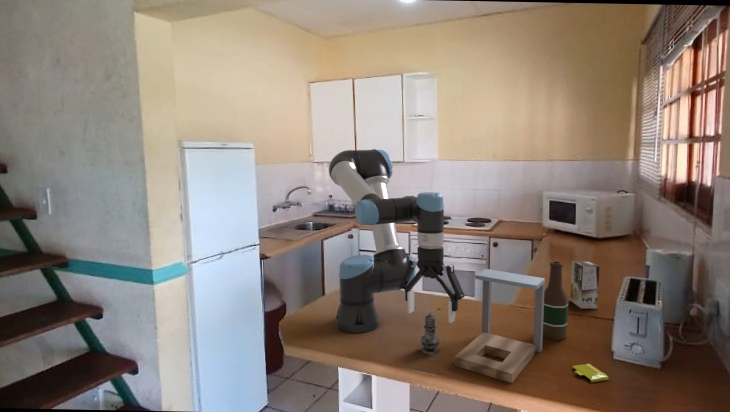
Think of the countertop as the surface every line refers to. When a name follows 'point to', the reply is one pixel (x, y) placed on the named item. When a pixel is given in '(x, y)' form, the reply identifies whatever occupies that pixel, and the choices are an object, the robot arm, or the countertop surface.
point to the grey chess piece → (430, 336)
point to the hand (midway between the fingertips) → (430, 316)
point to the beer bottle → (555, 305)
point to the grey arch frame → (518, 281)
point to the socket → (498, 346)
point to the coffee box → (584, 284)
